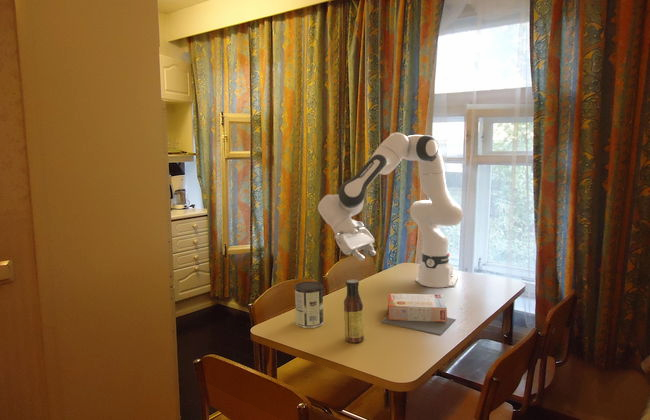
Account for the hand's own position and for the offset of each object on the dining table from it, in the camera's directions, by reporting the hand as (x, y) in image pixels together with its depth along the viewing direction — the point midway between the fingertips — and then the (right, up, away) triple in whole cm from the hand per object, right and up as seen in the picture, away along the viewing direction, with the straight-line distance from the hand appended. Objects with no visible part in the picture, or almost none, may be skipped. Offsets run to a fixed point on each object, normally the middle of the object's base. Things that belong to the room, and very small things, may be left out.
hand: (368, 257), depth 165 cm
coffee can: (-23, -23, -8) cm, 33 cm away
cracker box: (+7, -18, -2) cm, 20 cm away
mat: (+17, -22, -8) cm, 29 cm away
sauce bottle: (-7, -25, -23) cm, 35 cm away
